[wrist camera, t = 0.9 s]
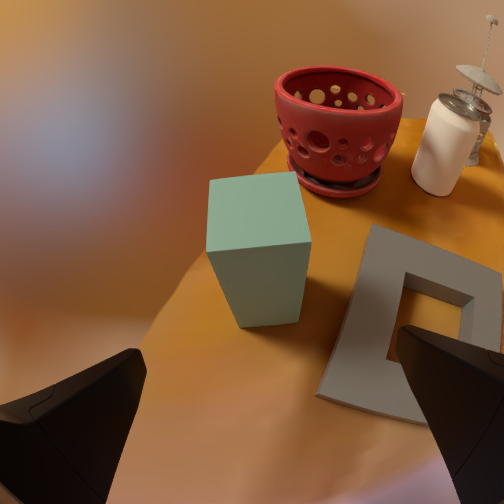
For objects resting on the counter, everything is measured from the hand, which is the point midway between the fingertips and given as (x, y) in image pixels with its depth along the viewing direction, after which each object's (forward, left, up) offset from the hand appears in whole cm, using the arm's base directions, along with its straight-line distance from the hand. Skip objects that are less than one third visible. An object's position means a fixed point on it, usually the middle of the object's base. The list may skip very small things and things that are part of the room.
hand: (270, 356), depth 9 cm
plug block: (+8, +3, -14) cm, 16 cm away
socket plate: (+7, -12, -14) cm, 20 cm away
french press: (+40, -23, -14) cm, 48 cm away
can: (+28, -15, -14) cm, 35 cm away
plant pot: (+26, -1, -14) cm, 29 cm away
